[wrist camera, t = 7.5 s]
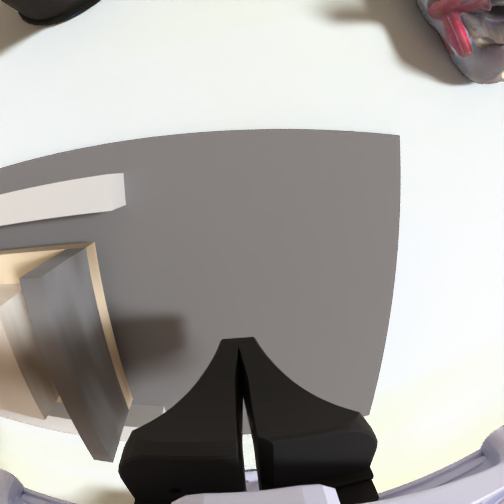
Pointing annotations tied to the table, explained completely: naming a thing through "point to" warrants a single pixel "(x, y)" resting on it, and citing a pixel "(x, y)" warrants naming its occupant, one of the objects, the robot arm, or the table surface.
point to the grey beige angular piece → (61, 343)
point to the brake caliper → (470, 35)
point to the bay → (225, 253)
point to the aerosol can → (48, 9)
